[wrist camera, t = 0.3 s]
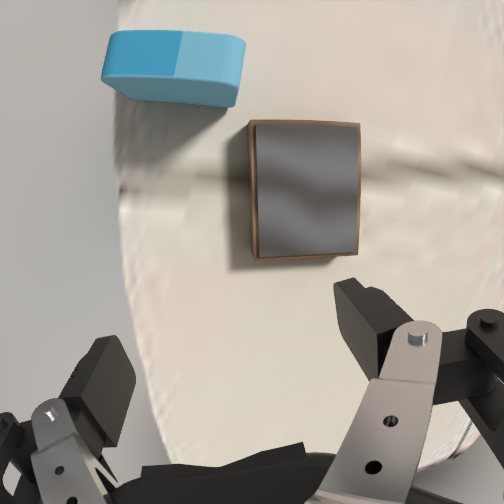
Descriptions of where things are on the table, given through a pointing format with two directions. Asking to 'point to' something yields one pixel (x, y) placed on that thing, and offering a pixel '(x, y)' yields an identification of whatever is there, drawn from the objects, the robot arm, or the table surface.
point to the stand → (304, 188)
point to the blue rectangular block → (175, 66)
